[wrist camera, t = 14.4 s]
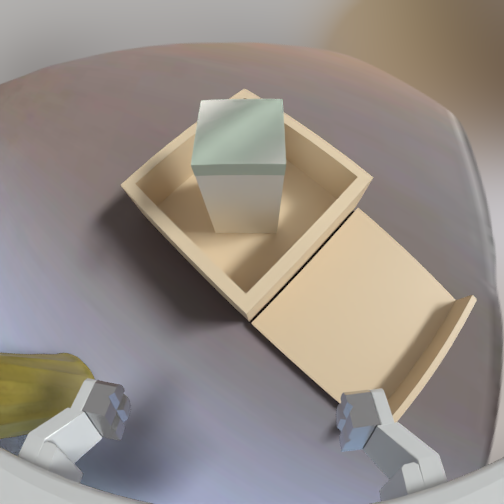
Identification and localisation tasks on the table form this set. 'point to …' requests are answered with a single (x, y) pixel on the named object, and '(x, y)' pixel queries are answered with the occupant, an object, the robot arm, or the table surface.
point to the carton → (241, 163)
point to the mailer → (313, 270)
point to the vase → (37, 389)
